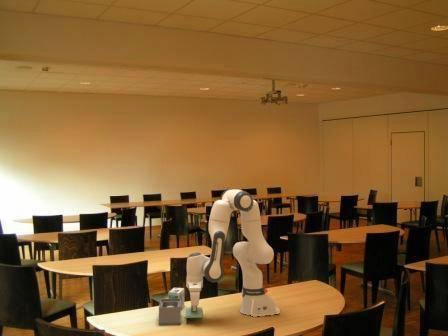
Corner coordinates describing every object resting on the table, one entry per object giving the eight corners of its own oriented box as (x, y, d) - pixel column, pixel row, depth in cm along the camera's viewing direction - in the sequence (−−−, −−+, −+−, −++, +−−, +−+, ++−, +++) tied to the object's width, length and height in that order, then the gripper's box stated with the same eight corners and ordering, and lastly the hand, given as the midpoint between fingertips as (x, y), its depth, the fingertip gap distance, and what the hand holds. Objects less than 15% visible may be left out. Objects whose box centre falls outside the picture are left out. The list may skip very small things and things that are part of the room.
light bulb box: (179, 312, 256) (179, 293, 256) (167, 311, 257) (168, 292, 257) (184, 306, 266) (184, 287, 266) (173, 305, 268) (173, 287, 268)
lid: (202, 309, 250) (202, 300, 250) (203, 317, 237) (203, 308, 237) (185, 309, 249) (185, 301, 249) (185, 317, 236) (185, 308, 236)
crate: (180, 315, 250) (180, 298, 250) (180, 324, 236) (180, 307, 235) (160, 315, 250) (160, 298, 250) (158, 325, 235) (158, 307, 235)
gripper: (188, 278, 253) (188, 303, 253) (188, 288, 233) (188, 315, 233) (199, 278, 254) (199, 303, 254) (201, 288, 233) (200, 315, 233)
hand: (194, 309), depth 243 cm, fingers closed on lid, 3 cm apart
